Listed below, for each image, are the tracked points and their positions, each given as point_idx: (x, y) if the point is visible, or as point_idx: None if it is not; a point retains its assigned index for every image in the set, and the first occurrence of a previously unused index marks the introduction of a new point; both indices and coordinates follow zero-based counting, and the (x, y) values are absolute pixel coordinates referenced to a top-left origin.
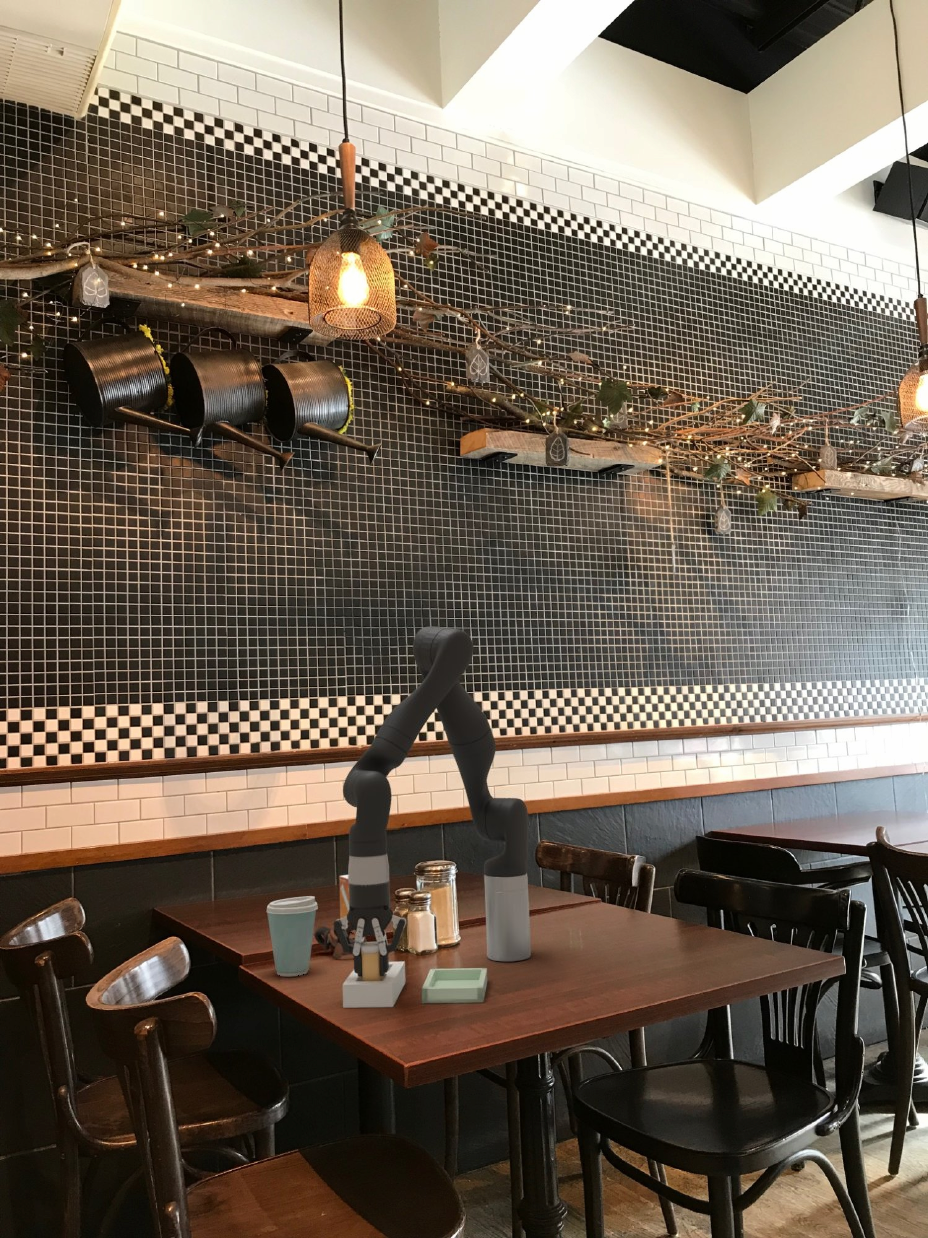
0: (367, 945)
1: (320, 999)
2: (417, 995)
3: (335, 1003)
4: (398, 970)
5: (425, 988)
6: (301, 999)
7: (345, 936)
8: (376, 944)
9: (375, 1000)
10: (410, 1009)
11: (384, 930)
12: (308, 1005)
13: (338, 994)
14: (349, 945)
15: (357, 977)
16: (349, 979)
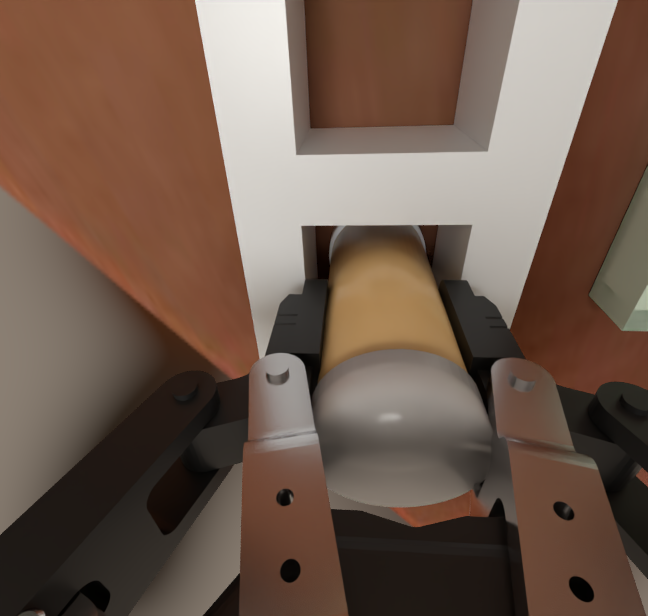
0: (375, 489)
1: (140, 216)
2: (599, 170)
3: (230, 272)
4: (562, 142)
5: (643, 327)
6: (57, 212)
7: (158, 554)
8: (452, 477)
9: None
10: (527, 350)
11: (610, 559)
12: (138, 290)
13: (184, 134)
14: (217, 466)
15: (300, 290)
16: (268, 320)
